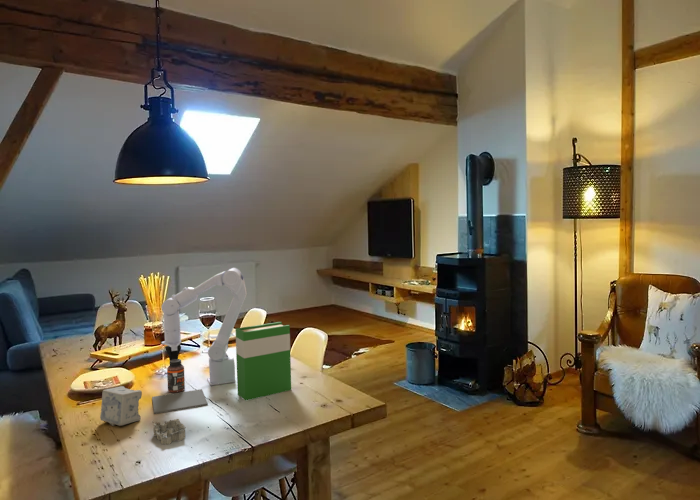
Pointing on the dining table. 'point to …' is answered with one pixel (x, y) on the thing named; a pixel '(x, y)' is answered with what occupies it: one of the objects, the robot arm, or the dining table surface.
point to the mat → (178, 401)
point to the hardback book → (263, 360)
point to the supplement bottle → (175, 376)
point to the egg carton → (169, 431)
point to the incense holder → (120, 405)
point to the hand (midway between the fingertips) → (173, 364)
